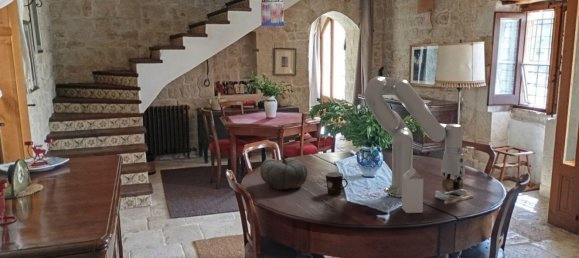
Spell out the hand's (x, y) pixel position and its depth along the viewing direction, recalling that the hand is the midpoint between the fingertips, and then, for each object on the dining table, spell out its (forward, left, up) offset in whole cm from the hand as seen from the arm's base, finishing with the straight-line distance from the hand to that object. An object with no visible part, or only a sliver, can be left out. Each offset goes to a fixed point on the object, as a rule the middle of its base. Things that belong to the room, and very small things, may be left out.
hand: (452, 187), depth 208 cm
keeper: (0, 0, -5) cm, 5 cm away
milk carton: (-29, -4, -5) cm, 30 cm away
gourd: (-60, +58, -5) cm, 84 cm away
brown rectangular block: (0, 0, -1) cm, 1 cm away
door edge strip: (-1, -5, -5) cm, 7 cm away
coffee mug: (-45, +32, -5) cm, 55 cm away
